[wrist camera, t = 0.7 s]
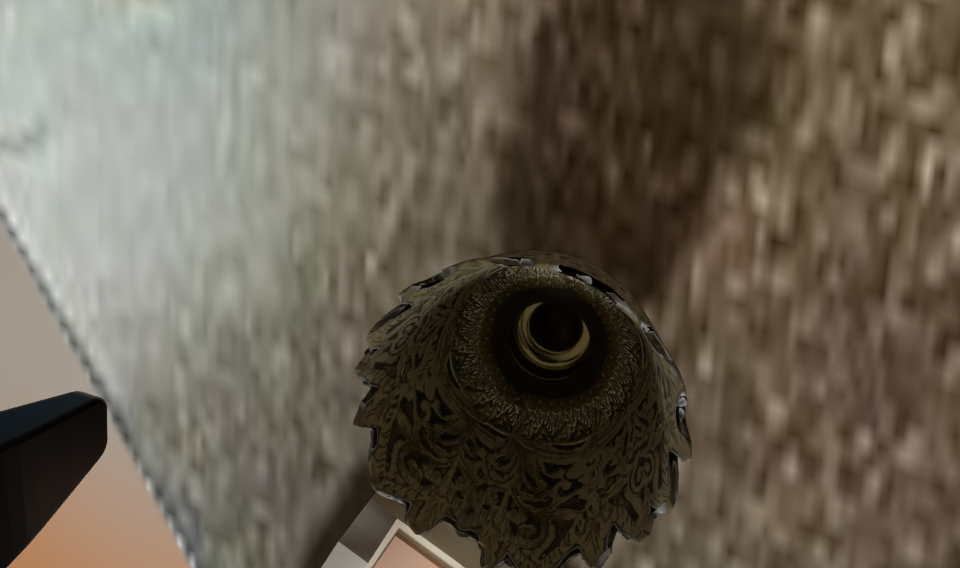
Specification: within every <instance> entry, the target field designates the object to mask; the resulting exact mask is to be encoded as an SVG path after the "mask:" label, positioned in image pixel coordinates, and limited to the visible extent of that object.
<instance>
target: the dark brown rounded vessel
mask: <svg viewBox="0 0 960 568" xmlns="http://www.w3.org/2000/svg"><path fill="white" fill-rule="evenodd" d="M398 296H399V298H400V303H401V305H399V306H398V307H396V308H395V309H393V310H392V311H390V312H389V313H388V314H386V315H385V316H383V317H382V318H381V319H380V320H379V321H378V322H377V323H376V324H375V325H374V327H373V328H372V329H371V331H370V332H369V334H368V335H367V338H366V346H369V348H368V349H367V350H366V351H365V356H364V357H363V359H362V360H361V361H360V362H359V364H358V365H357V367H356V369H355V373H356V374H357V376H358V377H359V378H360V379H361V380H362V381H363V385H366V386H369V387H370V386H371V389H370V391H369V392H368V393H367V395H366V397H365V398H364V399H363V400H361V402H360V406H359V409H358V412H357V414H356V416H355V418H354V422H353V426H354V427H363V428H364V427H366V428H369V429H370V434H371V444H370V448H369V451H368V453H367V455H368V463H369V471H370V478H371V485H372V487H373V489H374V490H375V492H377V493H378V494H379V495H381V496H383V497H386V498H389V499H391V500H394V502H395V503H397V504H400V505H401V506H403V507H405V511H406V512H405V518H404V520H405V522H406V523H407V525H408V526H409V528H410V529H411V530H412V531H413V532H414V534H416V535H426V534H428V533H429V532H430V531H431V530H432V529H434V527H435V526H436V525H437V524H439V523H441V522H446V523H447V524H449V525H450V526H452V527H453V528H454V530H455V532H456V534H457V535H458V536H459V537H463V538H471V539H473V538H474V539H473V540H476V541H477V543H478V548H479V549H480V550H481V555H480V566H481V568H500V567H501V566H502V565H503V564H504V563H505V561H506V560H508V562H509V563H510V564H511V565H512V567H513V568H564V566H565V565H566V564H567V563H568V562H569V561H570V560H571V559H573V558H574V557H577V556H579V555H580V554H581V556H582V559H583V560H584V561H585V564H586V565H588V566H589V567H590V568H601V567H602V566H603V565H604V563H605V561H606V560H607V559H608V558H609V556H610V555H611V554H612V544H613V541H614V539H615V536H616V532H617V531H618V532H619V533H621V534H622V535H623V536H624V537H625V538H626V539H627V540H628V539H632V540H634V541H637V542H644V541H645V540H646V539H647V538H648V537H649V535H650V533H651V531H652V527H653V522H654V519H655V518H656V517H658V513H662V514H663V513H665V512H670V511H671V510H672V509H673V507H674V504H675V501H676V497H677V492H678V478H679V472H678V457H679V458H680V459H681V462H685V461H688V460H691V455H692V441H691V438H690V435H689V432H688V429H687V425H686V420H685V407H686V404H687V396H686V389H685V385H684V382H683V379H682V377H681V374H680V372H679V370H678V368H677V366H676V364H675V363H674V361H673V359H672V358H671V356H670V354H669V353H668V351H667V350H666V348H665V347H664V345H663V343H662V341H661V339H660V337H659V335H658V333H657V332H656V330H655V328H654V326H653V325H652V323H651V321H650V320H649V318H648V317H647V315H646V313H645V312H644V310H643V309H642V307H641V306H640V305H639V303H638V302H637V301H636V300H635V298H634V297H633V296H632V295H631V293H630V292H629V291H628V290H627V289H626V288H625V287H624V286H623V285H622V284H621V283H620V282H618V281H617V280H616V279H614V278H613V277H612V276H611V275H609V274H608V273H606V272H605V271H603V270H602V269H600V268H598V267H597V266H595V265H593V264H591V263H589V262H587V261H585V260H582V259H579V258H577V257H574V256H571V255H567V254H562V253H558V252H552V251H543V250H525V251H516V252H508V253H503V254H499V255H494V256H490V257H486V258H477V259H472V260H467V261H464V262H461V263H458V264H455V265H452V266H450V267H447V268H445V269H443V270H441V272H439V273H438V274H436V275H434V276H433V277H431V278H429V279H427V280H424V281H420V282H418V283H415V284H412V285H411V286H409V287H408V288H406V289H405V290H403V291H402V292H401V293H400V294H399V295H398ZM549 304H560V305H564V306H566V307H568V308H569V309H571V310H572V311H573V312H574V313H575V315H576V316H577V318H578V321H579V324H580V332H579V335H578V338H577V340H576V341H575V342H574V343H573V344H572V345H571V346H570V347H568V348H566V349H563V350H551V349H548V348H545V347H544V346H542V345H541V344H540V343H539V342H538V341H537V340H536V339H535V337H534V335H533V332H532V320H533V317H534V315H535V314H536V312H537V311H538V310H539V309H540V308H542V307H544V306H546V305H549ZM440 521H441V522H440Z"/></svg>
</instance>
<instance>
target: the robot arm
mask: <svg viewBox="0 0 960 568" xmlns="http://www.w3.org/2000/svg"><path fill="white" fill-rule="evenodd" d="M106 444H107V405H106V403H105V401H104V399H102V398H100V397H97V396H94V395H91V394H88V393H85V392H80V391H75V392H70V393H66V394H63V395H59V396H55V397H52V398H48V399H44V400H41V401H37V402H33V403H30V404H26V405H22V406H19V407H15V408H11V409H8V410H4V411H0V568H7V566H9V565H10V564H11V563H12V561H13V560H14V559H15V558H16V557H17V556H18V555H19V554H20V553H21V552H22V551H23V550H24V549H25V548H26V547H27V545H29V543H30V542H31V541H32V540H33V539H34V538H35V536H36V535H37V534H38V533H39V532H40V531H41V529H42V528H43V527H44V526H45V525H46V523H47V522H48V521H49V520H50V519H51V517H52V516H53V515H54V514H55V512H56V511H57V510H58V509H59V508H60V506H61V505H62V504H63V502H64V501H65V500H66V499H67V498H68V496H69V495H70V494H71V493H72V492H73V490H74V489H75V488H76V486H77V485H78V484H79V483H80V482H81V481H82V479H83V478H84V477H85V475H86V474H87V473H88V472H89V471H90V470H91V468H92V467H93V466H94V464H95V463H96V462H97V461H98V460H99V458H100V457H101V456H102V454H103V452H104V450H105V448H106Z"/></svg>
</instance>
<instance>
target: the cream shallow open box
mask: <svg viewBox="0 0 960 568" xmlns="http://www.w3.org/2000/svg"><path fill="white" fill-rule="evenodd" d="M405 512H406V511H405V507H403V506H401V505H400V504H397V503H395V502H394V500H391V499H389V498H386V497H383V496H381V495H379V494H378V493H377V492H376V493H375V494H374V495H373V497H372V498H371V499H370V501H369V502H368V503H367V504H366V506H365V507H364V508H363V510H362V511H361V512H360V514H359V515H358V516H357V518H356V519H355V520H354V522H353V523H352V524H351V525H350V527H349V528H348V529H347V531H346V532H345V533H344V535H343V536H342V537H341V539H340V540H339V541H338V543H337V544H336V546H335V547H334V549H333V550H332V552H331V554H330V555H329V557H328V558H327V560H326V561H325V563H324V564H323V566H322V567H321V568H481V566H480V555H481V550H480V549H479V548H478V543H477V542H475V541H474V540H472V539H471V538H463V537H459V536H458V535H457V534H456V532H455V530H454V528H453V527H452V526H450V525H449V524H447V523H446V522H441V521H440V522H441V523H439V524H437V525H436V526H435V527H434V529H432V530H431V531H430V532H429V533H428V534H426V535H416V534H414V532H413V531H412V530H411V529H410V528H409V526H408V525H407V523H406V522H405V520H404V518H405ZM500 568H511V567H510V566H508V565H507V564H506V563H504V564H503V565H502V566H501V567H500Z"/></svg>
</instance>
